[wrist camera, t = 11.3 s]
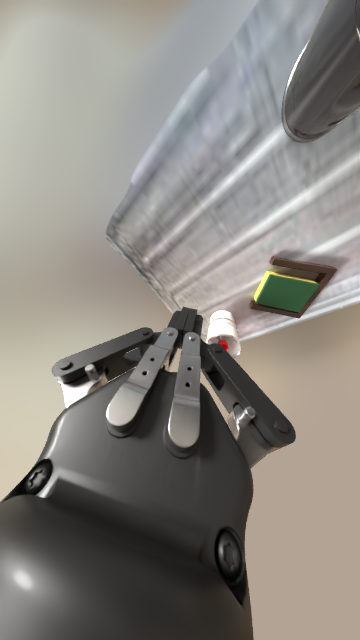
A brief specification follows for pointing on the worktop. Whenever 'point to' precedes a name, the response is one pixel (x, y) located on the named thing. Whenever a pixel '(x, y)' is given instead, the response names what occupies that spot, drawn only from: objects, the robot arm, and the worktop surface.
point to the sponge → (285, 291)
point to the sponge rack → (324, 271)
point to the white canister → (224, 332)
